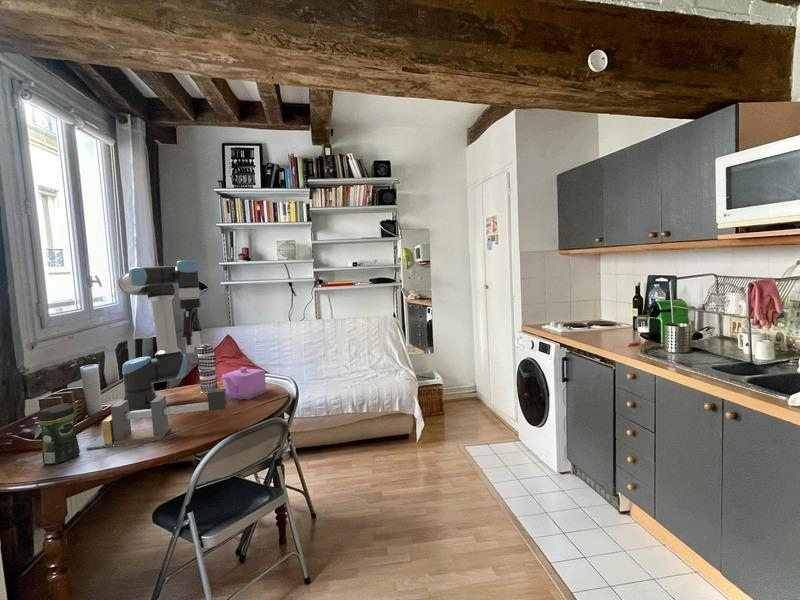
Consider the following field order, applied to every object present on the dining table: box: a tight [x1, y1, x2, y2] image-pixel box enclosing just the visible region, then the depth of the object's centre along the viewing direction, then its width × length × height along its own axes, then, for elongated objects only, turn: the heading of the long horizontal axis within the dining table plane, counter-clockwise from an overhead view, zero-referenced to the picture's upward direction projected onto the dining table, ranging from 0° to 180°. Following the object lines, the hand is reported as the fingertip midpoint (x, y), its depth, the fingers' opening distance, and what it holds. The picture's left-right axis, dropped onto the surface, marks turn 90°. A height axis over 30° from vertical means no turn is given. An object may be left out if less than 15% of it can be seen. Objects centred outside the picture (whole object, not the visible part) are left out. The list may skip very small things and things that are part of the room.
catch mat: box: [86, 435, 114, 450], centre depth 157 cm, size 12×8×1 cm
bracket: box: [110, 395, 171, 447], centre depth 160 cm, size 12×16×14 cm
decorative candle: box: [196, 343, 219, 394], centre depth 222 cm, size 9×9×25 cm
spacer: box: [101, 414, 116, 445], centre depth 158 cm, size 10×2×8 cm, turn 15°
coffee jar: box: [37, 402, 81, 465], centre depth 143 cm, size 10×8×19 cm
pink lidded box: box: [221, 366, 267, 400], centre depth 210 cm, size 15×25×14 cm, turn 156°
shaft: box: [124, 388, 228, 420], centre depth 163 cm, size 4×36×7 cm, turn 105°
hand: (193, 349), depth 175 cm, fingers open, 13 cm apart
